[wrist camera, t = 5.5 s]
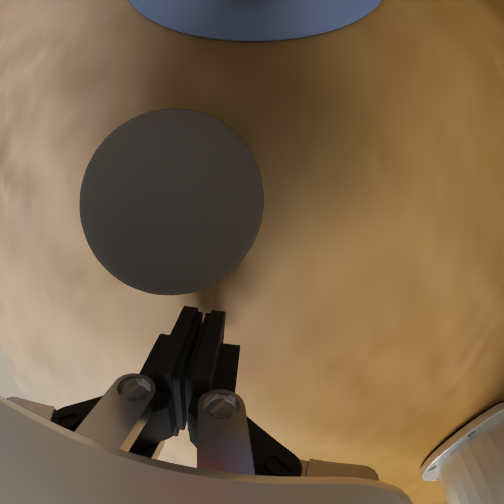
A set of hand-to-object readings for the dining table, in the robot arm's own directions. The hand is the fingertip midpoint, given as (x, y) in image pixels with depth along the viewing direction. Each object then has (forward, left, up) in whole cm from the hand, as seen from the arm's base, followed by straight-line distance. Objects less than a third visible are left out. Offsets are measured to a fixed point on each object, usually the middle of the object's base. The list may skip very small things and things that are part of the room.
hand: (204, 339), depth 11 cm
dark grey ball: (0, -6, +1) cm, 6 cm away
